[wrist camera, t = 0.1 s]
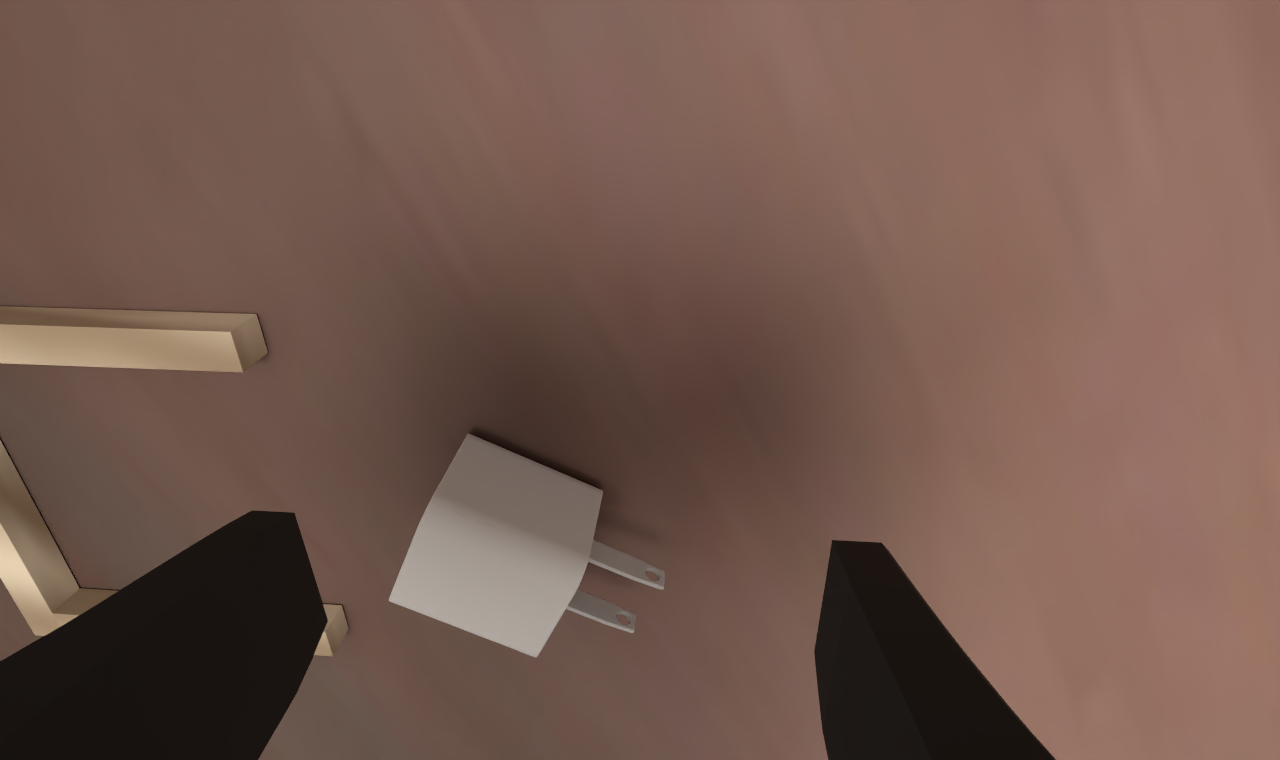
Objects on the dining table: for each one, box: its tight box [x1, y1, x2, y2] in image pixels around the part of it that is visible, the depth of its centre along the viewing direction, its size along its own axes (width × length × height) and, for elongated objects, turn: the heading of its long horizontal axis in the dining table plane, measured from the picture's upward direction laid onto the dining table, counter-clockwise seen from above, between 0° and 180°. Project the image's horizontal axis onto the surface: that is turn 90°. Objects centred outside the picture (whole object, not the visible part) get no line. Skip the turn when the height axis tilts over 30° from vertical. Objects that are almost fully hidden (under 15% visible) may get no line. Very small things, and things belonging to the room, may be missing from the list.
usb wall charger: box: [389, 433, 665, 657], centre depth 20 cm, size 4×7×4 cm, turn 65°
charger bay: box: [0, 306, 349, 656], centre depth 22 cm, size 12×11×1 cm
